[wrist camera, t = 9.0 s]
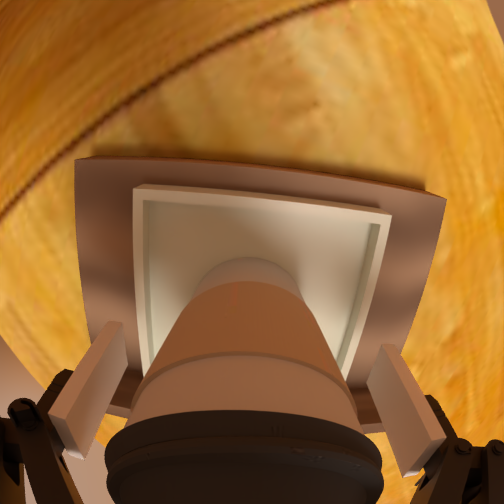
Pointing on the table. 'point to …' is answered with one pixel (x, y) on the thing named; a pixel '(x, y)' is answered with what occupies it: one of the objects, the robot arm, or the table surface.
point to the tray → (255, 255)
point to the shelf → (261, 181)
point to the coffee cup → (244, 405)
